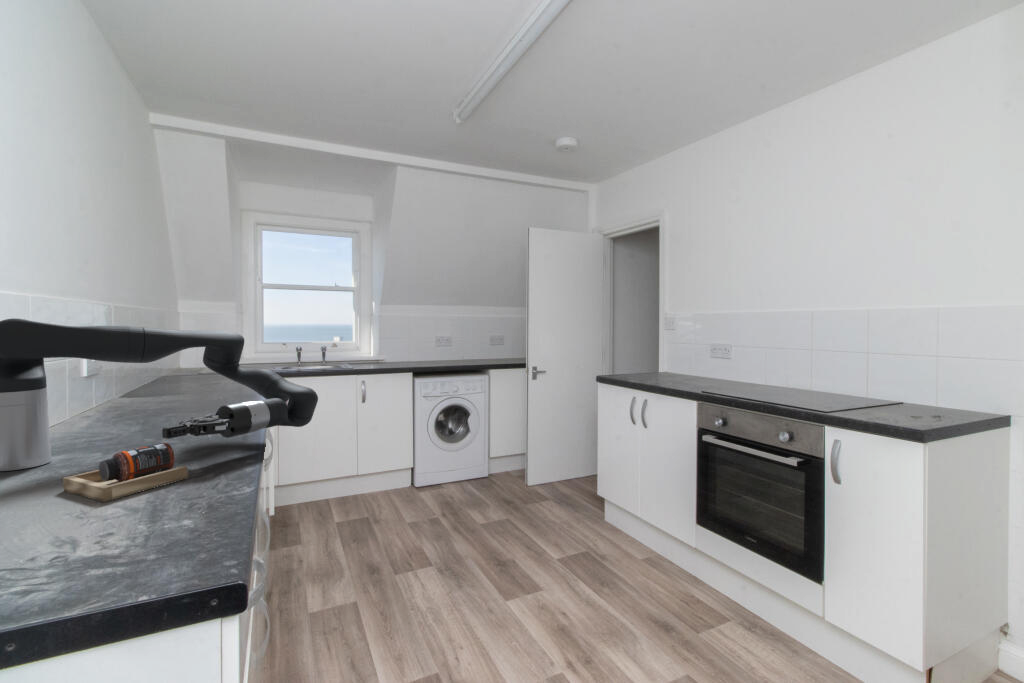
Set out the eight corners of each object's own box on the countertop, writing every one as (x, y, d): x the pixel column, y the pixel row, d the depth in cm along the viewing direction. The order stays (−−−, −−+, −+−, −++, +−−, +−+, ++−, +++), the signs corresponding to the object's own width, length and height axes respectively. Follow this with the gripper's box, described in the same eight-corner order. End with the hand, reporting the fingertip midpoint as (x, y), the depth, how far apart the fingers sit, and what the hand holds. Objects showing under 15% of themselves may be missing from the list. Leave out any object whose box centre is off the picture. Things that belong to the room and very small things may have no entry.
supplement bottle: (168, 436, 102) (102, 449, 93) (179, 460, 101) (114, 476, 91) (157, 452, 105) (92, 466, 95) (168, 475, 103) (103, 492, 93)
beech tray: (63, 490, 93) (63, 477, 93) (146, 470, 105) (146, 458, 105) (104, 502, 86) (103, 488, 86) (187, 478, 98) (187, 466, 98)
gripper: (225, 401, 120) (145, 413, 104) (260, 404, 114) (181, 417, 98) (226, 431, 120) (147, 448, 104) (262, 436, 114) (183, 454, 98)
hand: (164, 433), depth 101 cm, fingers closed
